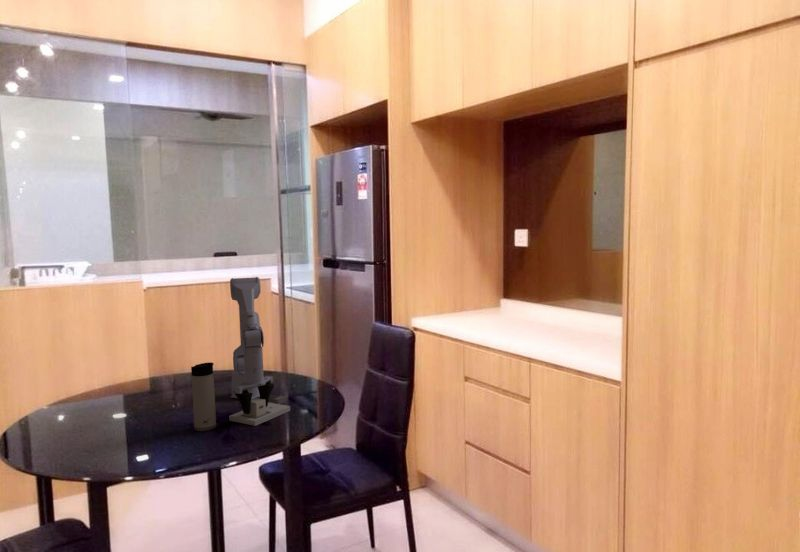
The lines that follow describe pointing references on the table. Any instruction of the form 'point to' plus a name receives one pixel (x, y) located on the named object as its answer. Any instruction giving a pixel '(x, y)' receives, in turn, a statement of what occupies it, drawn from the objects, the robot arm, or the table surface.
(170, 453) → the table surface
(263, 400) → the block
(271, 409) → the outlet plate
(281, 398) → the cable plug
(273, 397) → the phone
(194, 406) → the travel mug
